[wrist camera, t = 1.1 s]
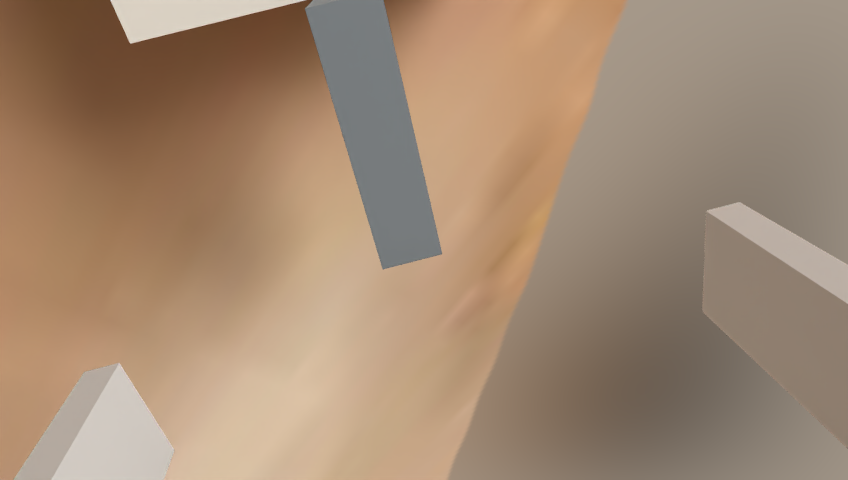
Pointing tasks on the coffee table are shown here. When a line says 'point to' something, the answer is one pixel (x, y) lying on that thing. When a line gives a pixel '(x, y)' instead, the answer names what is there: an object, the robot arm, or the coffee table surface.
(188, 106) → the coffee table surface
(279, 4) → the flap
